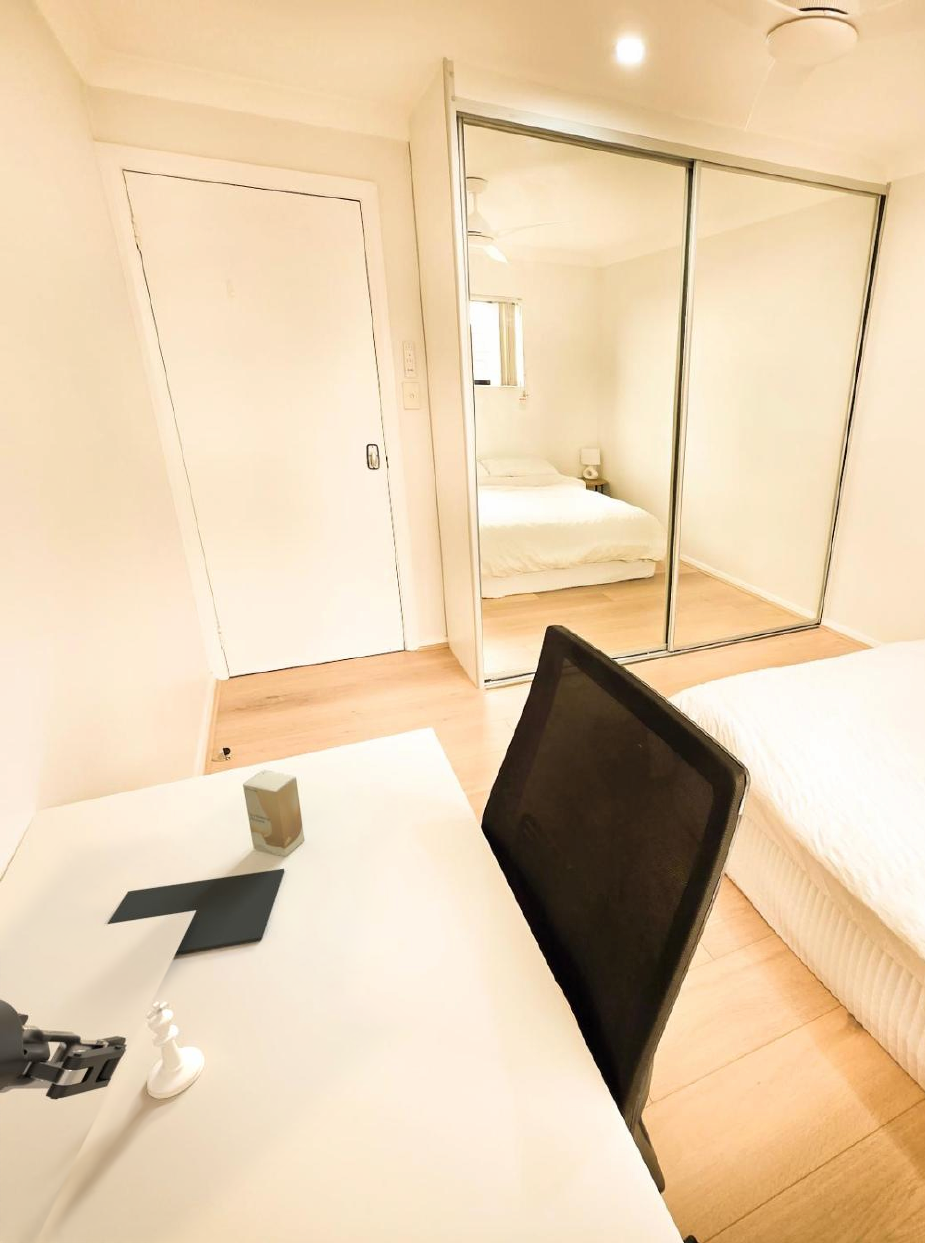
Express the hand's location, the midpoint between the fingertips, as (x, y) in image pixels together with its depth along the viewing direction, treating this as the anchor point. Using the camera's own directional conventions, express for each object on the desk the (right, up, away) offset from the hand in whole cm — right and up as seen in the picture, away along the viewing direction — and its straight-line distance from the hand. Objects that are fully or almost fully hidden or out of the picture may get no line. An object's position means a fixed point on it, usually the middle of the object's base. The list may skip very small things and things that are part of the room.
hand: (67, 1040), depth 53 cm
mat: (-11, -4, +31) cm, 33 cm away
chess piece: (+1, -12, +12) cm, 17 cm away
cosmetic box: (-7, 0, +45) cm, 45 cm away
